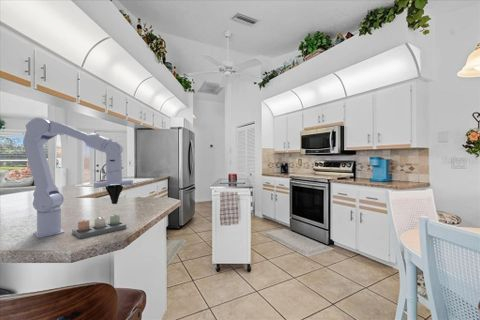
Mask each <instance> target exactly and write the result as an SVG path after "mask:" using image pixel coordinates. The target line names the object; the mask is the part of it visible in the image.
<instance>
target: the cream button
mask: <svg viewBox="0 0 480 320" xmlns="http://www.w3.org/2000/svg"><path fill="white" fill-rule="evenodd" d="M105 223H106V217H105V216H98V217H95V218H94V225H95V228H103V227H105Z"/></svg>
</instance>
